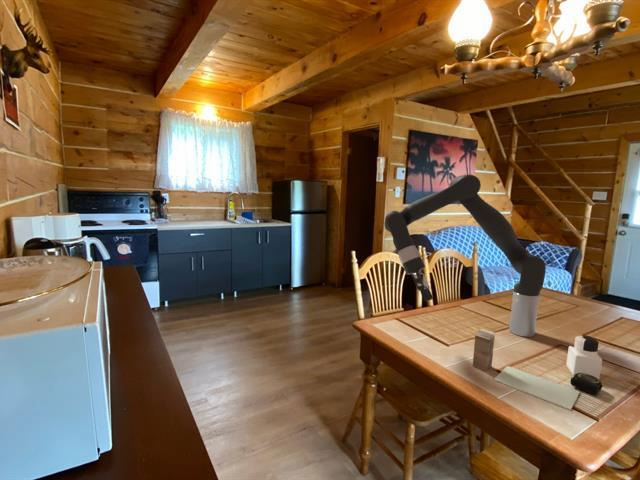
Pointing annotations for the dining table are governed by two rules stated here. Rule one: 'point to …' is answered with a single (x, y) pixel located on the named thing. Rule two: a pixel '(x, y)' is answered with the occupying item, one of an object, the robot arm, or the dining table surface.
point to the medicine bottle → (584, 357)
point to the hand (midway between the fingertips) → (429, 300)
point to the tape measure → (586, 383)
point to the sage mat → (538, 387)
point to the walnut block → (483, 349)
